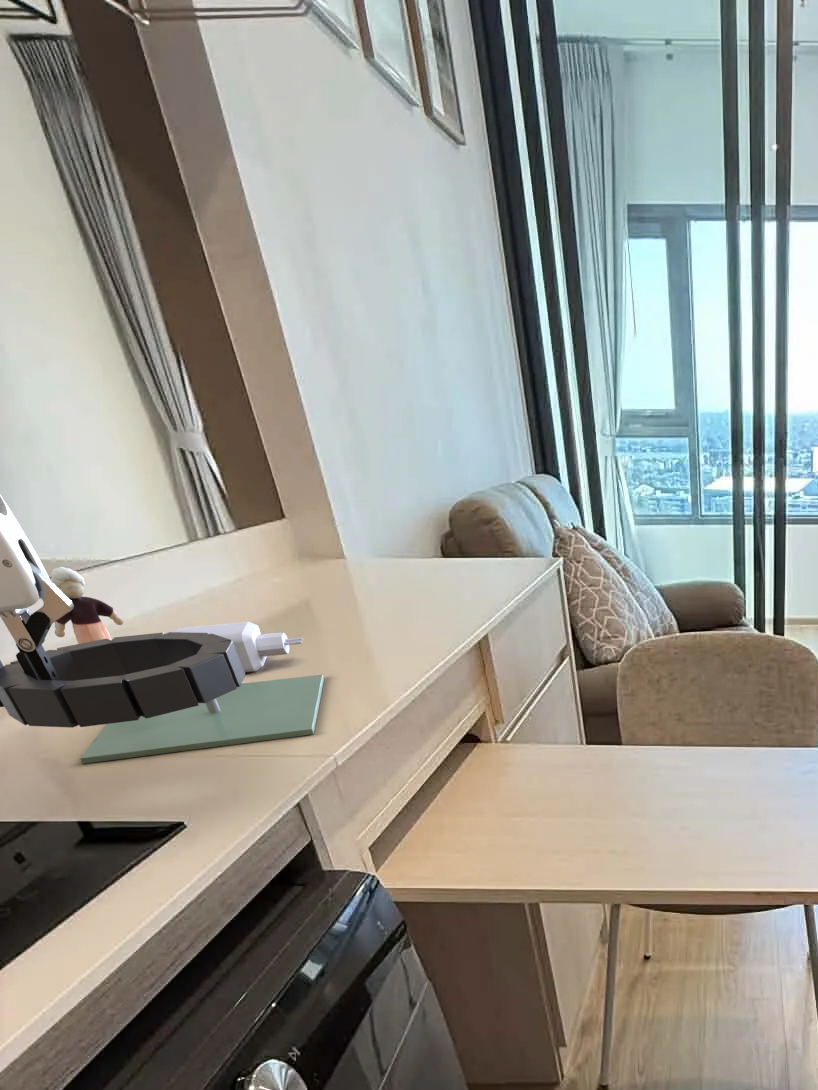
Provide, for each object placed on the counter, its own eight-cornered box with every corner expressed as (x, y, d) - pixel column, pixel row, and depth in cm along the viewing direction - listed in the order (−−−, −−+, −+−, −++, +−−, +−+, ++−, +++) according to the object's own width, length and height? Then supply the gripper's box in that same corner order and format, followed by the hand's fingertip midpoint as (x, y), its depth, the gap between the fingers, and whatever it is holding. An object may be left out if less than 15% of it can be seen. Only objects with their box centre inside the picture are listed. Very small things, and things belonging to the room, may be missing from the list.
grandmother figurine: (90, 682, 109) (35, 573, 101) (75, 678, 110) (20, 570, 103) (150, 667, 114) (102, 562, 106) (134, 663, 116) (86, 560, 108)
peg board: (82, 764, 86) (58, 719, 83) (130, 701, 102) (111, 662, 100) (313, 734, 92) (298, 691, 89) (324, 679, 108) (311, 641, 105)
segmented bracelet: (-19, 739, 66) (-43, 700, 64) (48, 679, 79) (30, 645, 78) (229, 709, 71) (214, 671, 69) (254, 656, 84) (241, 624, 82)
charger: (306, 668, 112) (180, 682, 108) (311, 651, 119) (193, 663, 115) (293, 630, 109) (163, 642, 105) (298, 614, 116) (177, 626, 112)
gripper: (31, 434, 66) (144, 676, 78) (-221, 445, 62) (-63, 699, 74) (-2, 439, 61) (126, 700, 72) (-281, 452, 57) (-99, 726, 68)
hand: (29, 697), depth 73 cm, fingers closed on segmented bracelet, 2 cm apart
